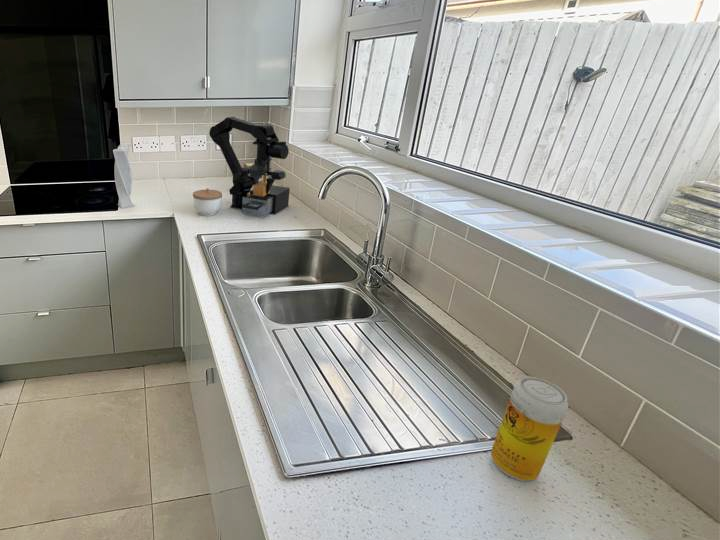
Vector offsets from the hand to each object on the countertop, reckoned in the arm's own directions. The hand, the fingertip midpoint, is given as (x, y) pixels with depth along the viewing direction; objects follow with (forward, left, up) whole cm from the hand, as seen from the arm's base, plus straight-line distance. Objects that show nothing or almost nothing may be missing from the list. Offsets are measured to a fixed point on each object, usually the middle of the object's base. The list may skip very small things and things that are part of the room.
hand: (261, 192), depth 174 cm
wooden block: (0, 0, -1) cm, 0 cm away
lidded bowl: (-19, -14, -9) cm, 25 cm away
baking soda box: (-15, +22, -9) cm, 28 cm away
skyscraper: (-57, -25, -9) cm, 63 cm away
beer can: (+88, -91, -9) cm, 127 cm away
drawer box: (0, +8, -9) cm, 12 cm away
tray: (0, -2, -8) cm, 8 cm away
